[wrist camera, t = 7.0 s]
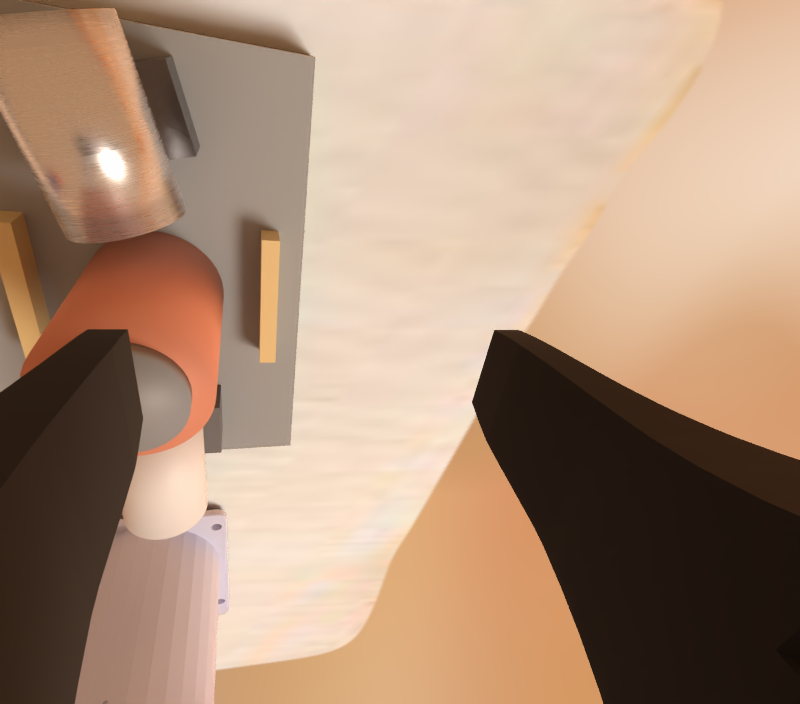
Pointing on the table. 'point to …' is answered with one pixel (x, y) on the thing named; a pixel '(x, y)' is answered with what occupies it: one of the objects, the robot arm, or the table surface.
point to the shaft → (94, 122)
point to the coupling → (152, 328)
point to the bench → (204, 228)
